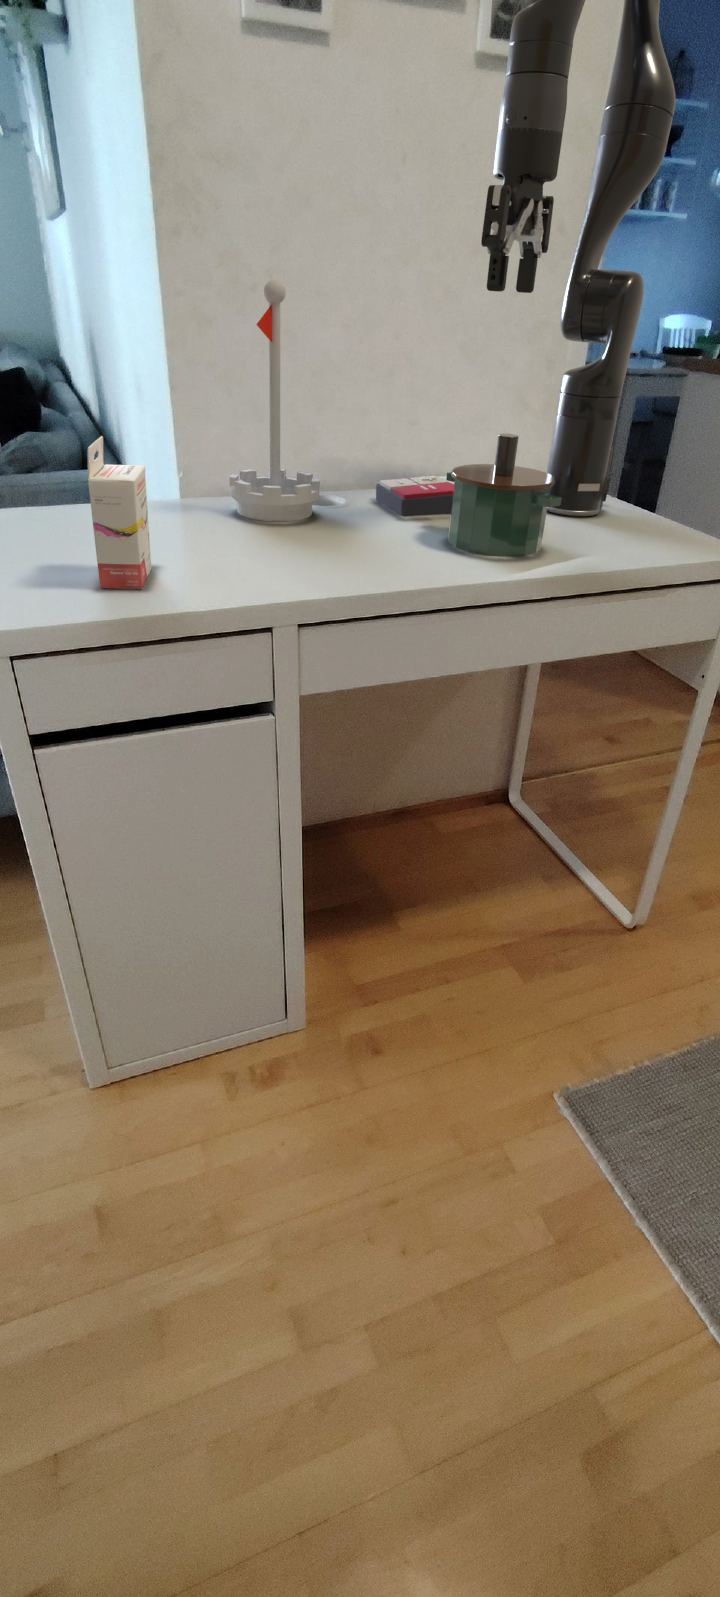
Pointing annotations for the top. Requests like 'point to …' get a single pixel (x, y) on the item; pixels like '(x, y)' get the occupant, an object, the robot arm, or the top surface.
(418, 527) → the top surface
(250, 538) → the top surface
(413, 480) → the grey red flat block
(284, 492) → the flag stand
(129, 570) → the ink cartridge box
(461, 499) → the pot
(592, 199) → the robot arm
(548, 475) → the lid
